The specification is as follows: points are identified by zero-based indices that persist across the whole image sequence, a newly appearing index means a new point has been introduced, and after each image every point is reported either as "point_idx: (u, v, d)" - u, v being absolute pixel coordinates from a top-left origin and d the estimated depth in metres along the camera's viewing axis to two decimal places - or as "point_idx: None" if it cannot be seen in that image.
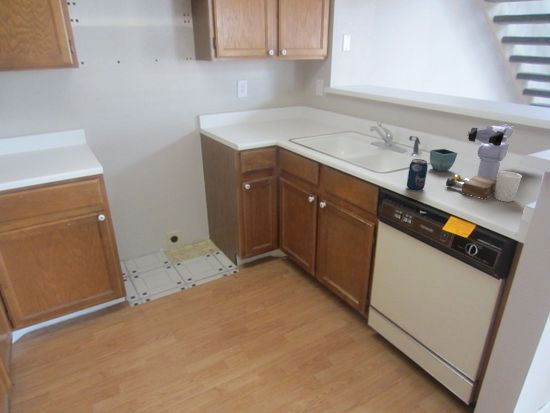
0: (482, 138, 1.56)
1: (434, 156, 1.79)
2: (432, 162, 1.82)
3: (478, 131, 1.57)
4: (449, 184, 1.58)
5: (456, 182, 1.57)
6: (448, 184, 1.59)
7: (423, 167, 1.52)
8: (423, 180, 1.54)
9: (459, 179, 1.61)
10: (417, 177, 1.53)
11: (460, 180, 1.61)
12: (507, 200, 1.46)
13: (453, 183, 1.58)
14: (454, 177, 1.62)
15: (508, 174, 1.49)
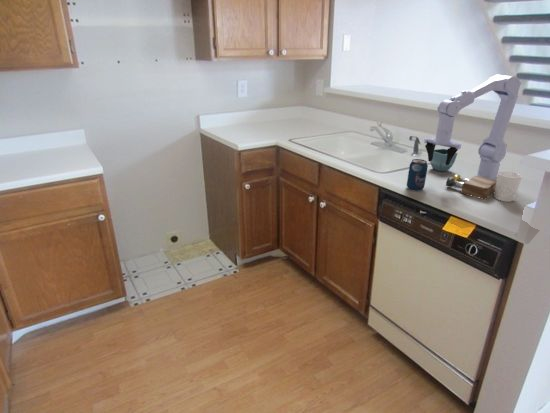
0: None
1: (434, 156, 1.79)
2: (432, 162, 1.82)
3: None
4: (449, 184, 1.58)
5: (456, 182, 1.57)
6: (448, 184, 1.59)
7: (423, 167, 1.52)
8: (423, 180, 1.54)
9: (459, 179, 1.61)
10: (417, 177, 1.53)
11: (460, 180, 1.61)
12: (507, 200, 1.46)
13: (453, 183, 1.58)
14: (454, 177, 1.62)
15: (508, 174, 1.49)
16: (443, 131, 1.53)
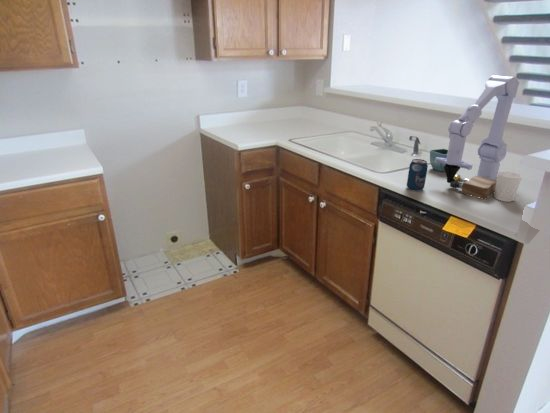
0: None
1: (434, 156, 1.79)
2: (432, 162, 1.82)
3: None
4: (453, 185, 1.57)
5: (460, 183, 1.56)
6: (452, 185, 1.58)
7: (423, 167, 1.52)
8: (423, 180, 1.54)
9: (459, 179, 1.61)
10: (417, 177, 1.53)
11: (460, 180, 1.61)
12: (507, 200, 1.46)
13: (457, 184, 1.56)
14: (454, 177, 1.62)
15: (508, 174, 1.49)
16: (454, 151, 1.52)
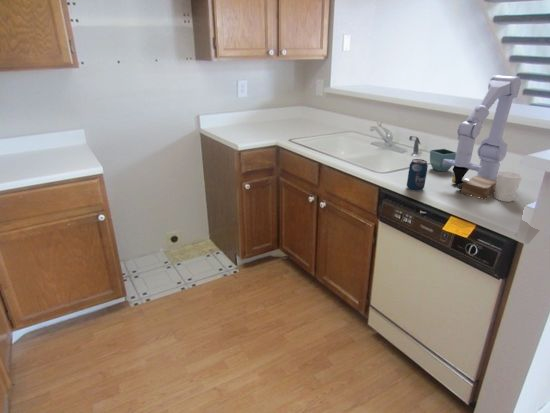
0: None
1: (434, 156, 1.79)
2: (432, 162, 1.82)
3: None
4: (461, 187, 1.55)
5: None
6: (460, 187, 1.55)
7: (423, 167, 1.52)
8: (423, 180, 1.54)
9: None
10: (417, 177, 1.53)
11: None
12: (507, 200, 1.46)
13: None
14: (454, 177, 1.62)
15: (508, 174, 1.49)
16: (463, 153, 1.50)
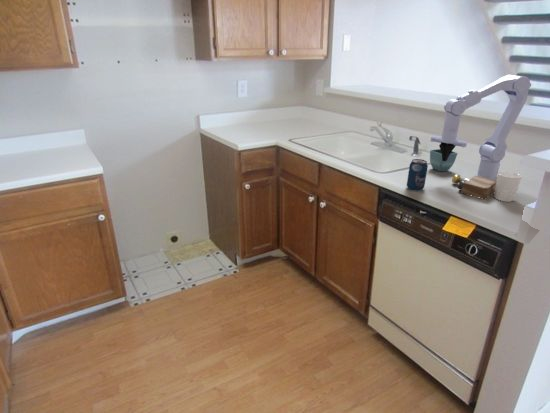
0: None
1: (434, 156, 1.79)
2: (432, 162, 1.81)
3: None
4: (461, 187, 1.55)
5: None
6: (460, 187, 1.55)
7: (423, 167, 1.52)
8: (423, 180, 1.54)
9: (459, 179, 1.61)
10: (417, 177, 1.53)
11: (460, 180, 1.61)
12: (507, 200, 1.46)
13: None
14: (454, 177, 1.62)
15: (508, 174, 1.49)
16: (449, 130, 1.57)
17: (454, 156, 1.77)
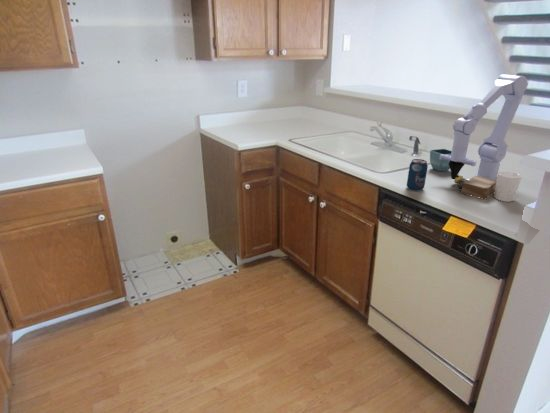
0: None
1: (434, 156, 1.79)
2: (432, 162, 1.81)
3: None
4: (461, 187, 1.55)
5: None
6: (460, 187, 1.55)
7: (423, 167, 1.52)
8: (423, 180, 1.54)
9: (461, 180, 1.61)
10: (417, 177, 1.53)
11: None
12: (507, 200, 1.46)
13: None
14: (456, 178, 1.62)
15: (508, 174, 1.49)
16: (459, 148, 1.56)
17: None
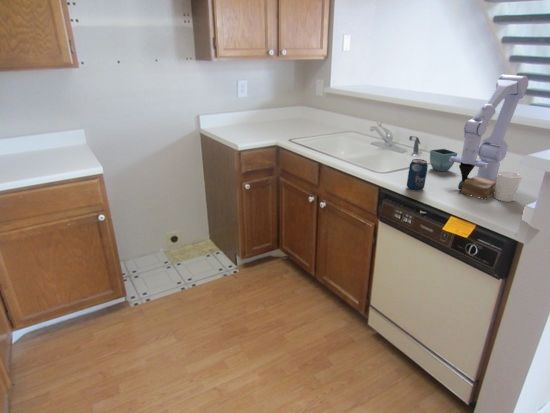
0: None
1: (434, 156, 1.79)
2: (432, 162, 1.82)
3: None
4: (461, 187, 1.55)
5: None
6: (460, 187, 1.55)
7: (423, 167, 1.52)
8: (423, 180, 1.54)
9: None
10: (417, 177, 1.53)
11: None
12: (507, 200, 1.46)
13: None
14: (466, 180, 1.59)
15: (508, 174, 1.49)
16: (469, 150, 1.54)
17: (454, 156, 1.77)
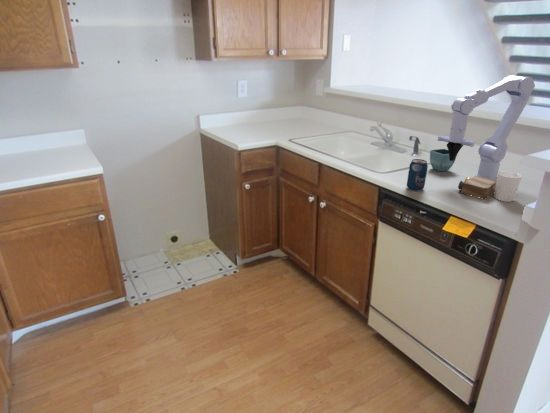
0: None
1: (434, 156, 1.79)
2: (432, 162, 1.81)
3: None
4: (461, 187, 1.55)
5: None
6: (460, 187, 1.55)
7: (423, 167, 1.52)
8: (423, 180, 1.54)
9: None
10: (417, 177, 1.53)
11: None
12: (507, 200, 1.46)
13: None
14: (466, 180, 1.59)
15: (508, 174, 1.49)
16: (457, 129, 1.55)
17: None
